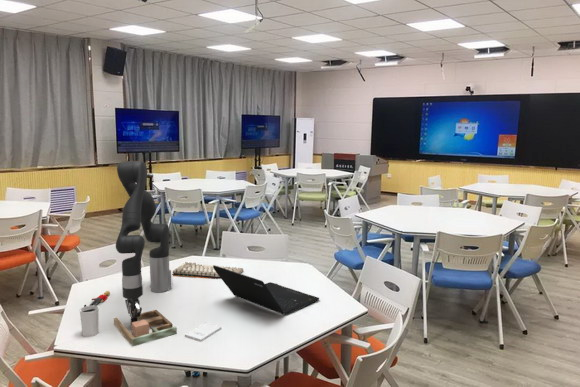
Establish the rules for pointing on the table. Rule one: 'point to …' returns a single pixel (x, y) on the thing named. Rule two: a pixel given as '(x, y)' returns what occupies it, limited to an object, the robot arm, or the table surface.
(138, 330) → the clay block
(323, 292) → the table surface
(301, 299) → the laptop
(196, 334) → the external hard drive
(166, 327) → the brown frame
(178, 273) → the mechanical keyboard
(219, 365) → the table surface
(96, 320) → the drinking glass
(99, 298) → the person figure
